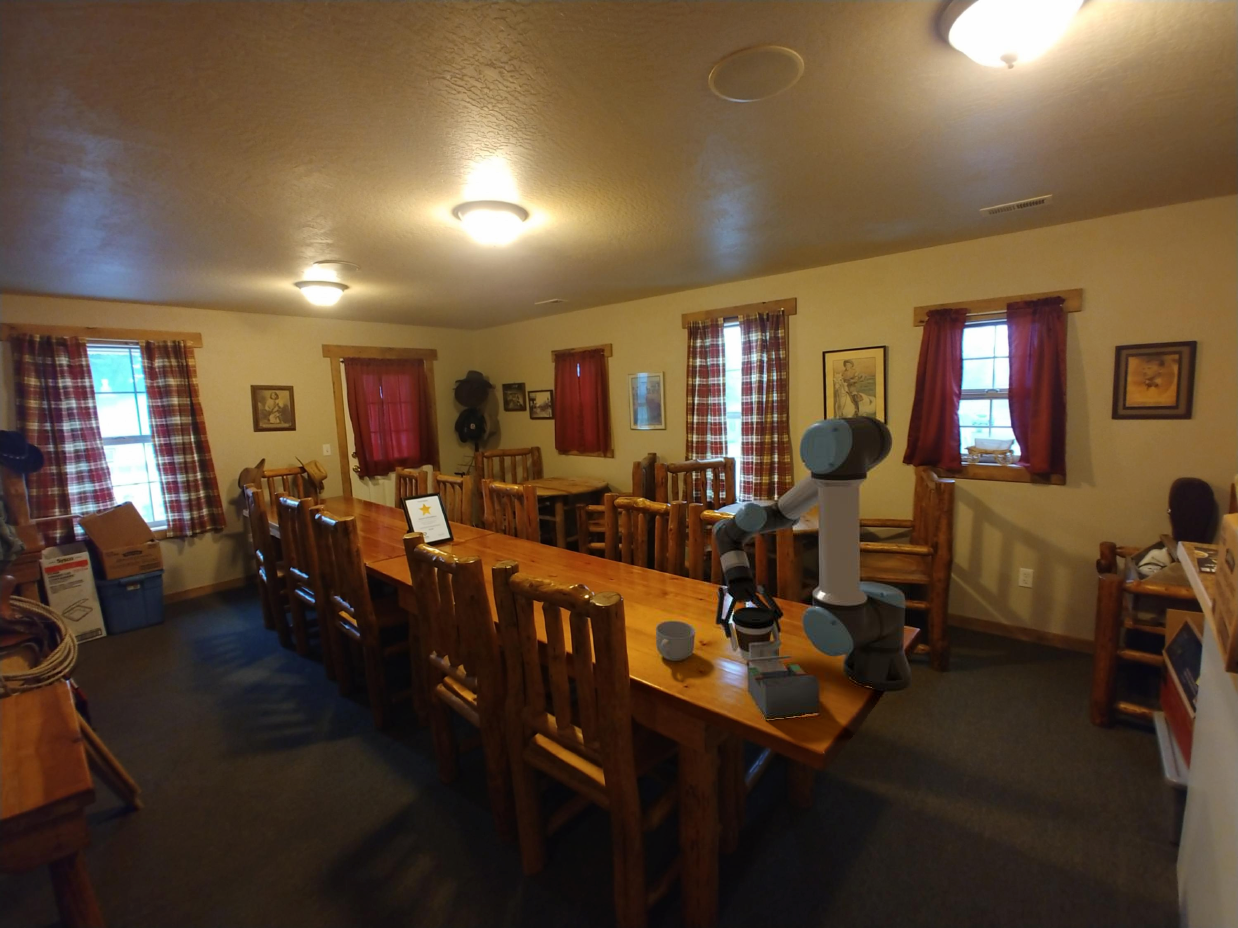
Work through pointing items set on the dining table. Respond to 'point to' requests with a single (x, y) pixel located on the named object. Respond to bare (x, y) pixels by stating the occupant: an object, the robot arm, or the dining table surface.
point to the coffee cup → (752, 627)
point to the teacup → (675, 640)
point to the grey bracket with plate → (767, 659)
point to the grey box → (784, 693)
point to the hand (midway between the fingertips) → (757, 647)
